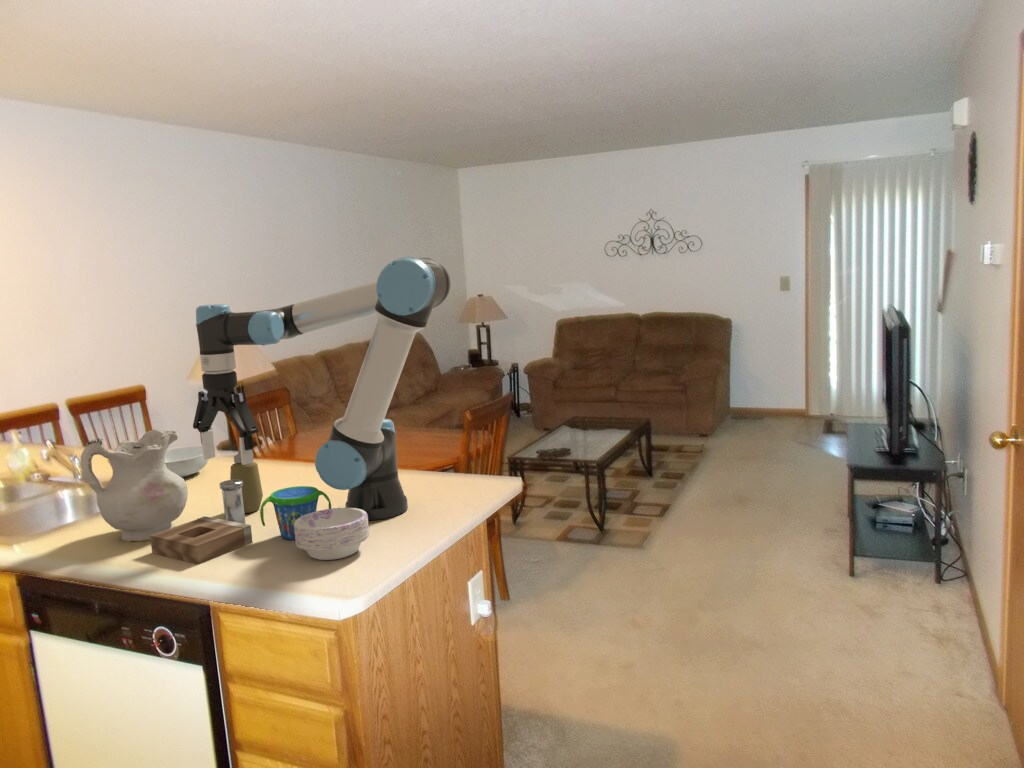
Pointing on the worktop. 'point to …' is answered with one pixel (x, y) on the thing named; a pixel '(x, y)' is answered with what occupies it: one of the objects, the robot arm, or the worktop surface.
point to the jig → (201, 539)
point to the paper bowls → (331, 532)
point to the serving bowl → (185, 460)
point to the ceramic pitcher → (137, 485)
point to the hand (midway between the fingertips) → (228, 461)
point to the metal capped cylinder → (233, 500)
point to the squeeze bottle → (248, 483)
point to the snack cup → (292, 506)
